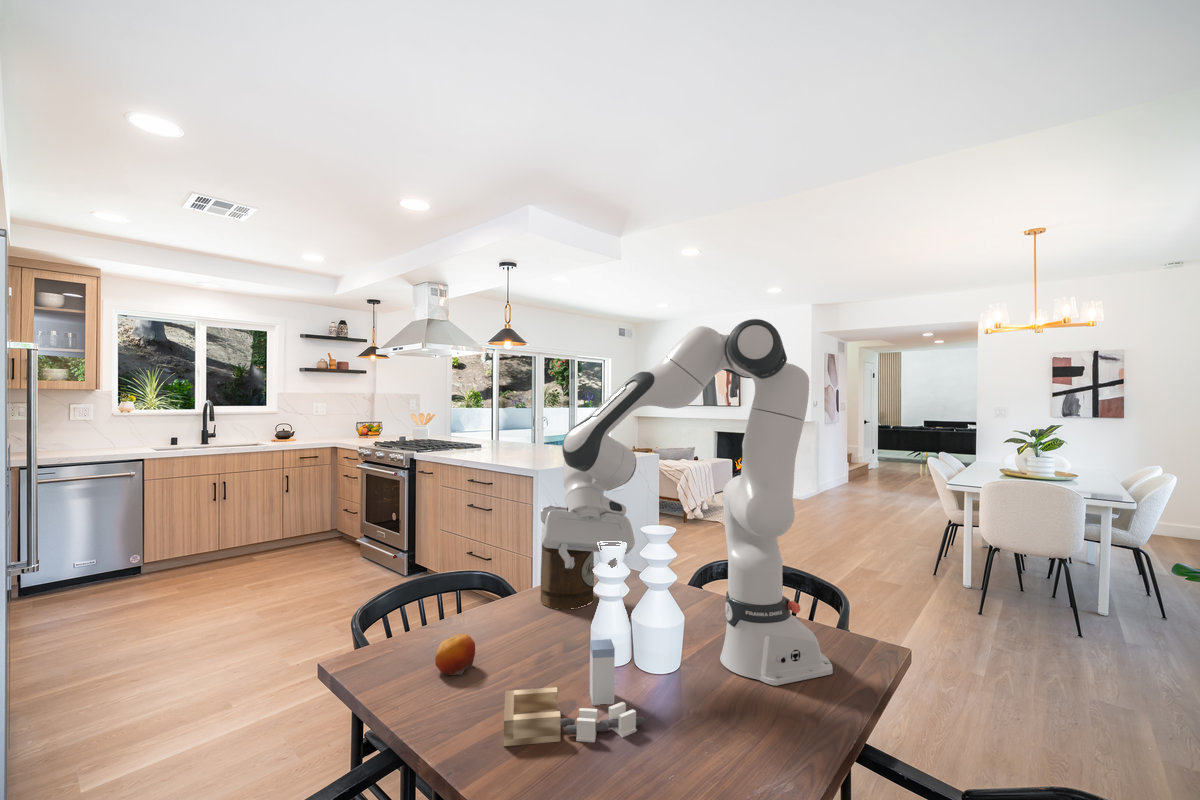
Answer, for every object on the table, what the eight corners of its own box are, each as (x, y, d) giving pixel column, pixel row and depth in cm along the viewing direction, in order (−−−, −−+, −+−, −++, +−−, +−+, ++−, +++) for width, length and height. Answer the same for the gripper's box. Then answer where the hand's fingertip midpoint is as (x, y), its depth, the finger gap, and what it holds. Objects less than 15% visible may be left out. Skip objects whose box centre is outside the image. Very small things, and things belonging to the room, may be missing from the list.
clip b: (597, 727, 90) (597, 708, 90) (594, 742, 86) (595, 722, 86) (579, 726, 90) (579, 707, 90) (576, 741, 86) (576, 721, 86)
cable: (642, 717, 92) (642, 710, 92) (647, 728, 89) (647, 721, 89) (548, 725, 90) (548, 718, 90) (549, 737, 86) (549, 729, 86)
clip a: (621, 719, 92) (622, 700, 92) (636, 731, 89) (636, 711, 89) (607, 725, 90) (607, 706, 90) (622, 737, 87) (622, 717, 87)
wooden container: (599, 607, 143) (599, 525, 143) (544, 612, 140) (544, 528, 140) (587, 589, 158) (588, 514, 158) (537, 593, 154) (538, 516, 154)
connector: (610, 692, 101) (610, 639, 101) (614, 703, 97) (614, 648, 97) (589, 693, 100) (589, 640, 100) (592, 705, 96) (592, 649, 96)
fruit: (469, 676, 104) (451, 637, 105) (439, 691, 106) (422, 653, 107) (491, 658, 111) (474, 622, 113) (463, 672, 113) (446, 637, 115)
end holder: (556, 709, 95) (556, 687, 95) (560, 741, 86) (560, 716, 86) (505, 713, 94) (505, 690, 94) (503, 746, 85) (503, 720, 85)
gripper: (544, 497, 113) (547, 558, 104) (632, 506, 120) (642, 564, 110) (536, 512, 117) (538, 572, 108) (621, 521, 124) (630, 578, 115)
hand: (591, 568), depth 109 cm, fingers open, 8 cm apart
